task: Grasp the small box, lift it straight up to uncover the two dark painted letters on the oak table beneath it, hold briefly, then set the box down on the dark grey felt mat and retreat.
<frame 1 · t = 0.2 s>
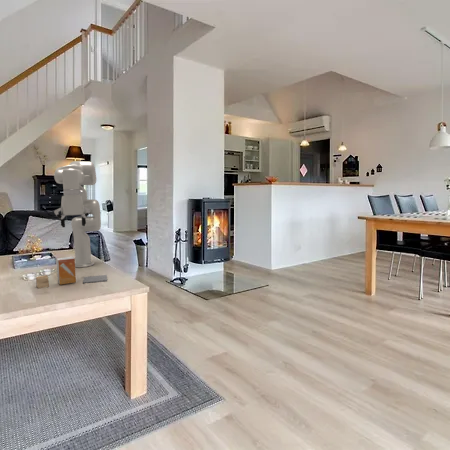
hand: (73, 226, 178), 30 cm above the table, tool pointing down, fingers open, 9 cm apart
code marks: (67, 282, 182), on the table
felt mat: (95, 279, 187), on the table
oak block: (42, 286, 175), on the table
small box: (67, 282, 182), on the table, touching code marks
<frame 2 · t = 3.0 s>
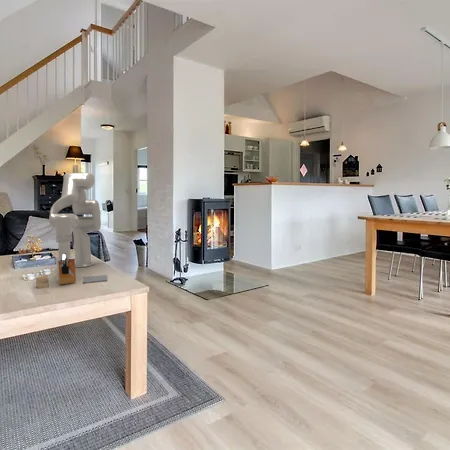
hand: (66, 271, 181), 6 cm above the table, tool pointing down, fingers closed on small box, 7 cm apart
small box: (67, 282, 182), on the table, touching code marks, gripper
everything else where it was.
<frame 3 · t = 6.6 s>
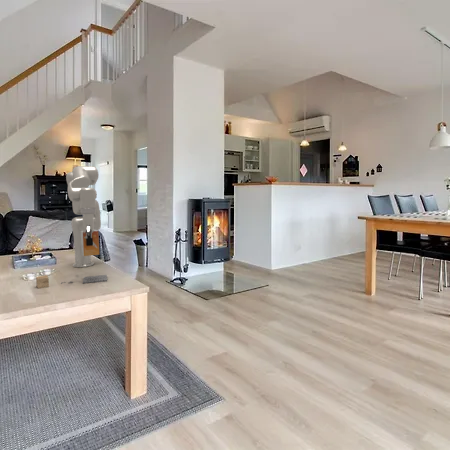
hand: (90, 244, 185), 20 cm above the table, tool pointing down, fingers closed on small box, 7 cm apart
small box: (90, 255, 185), point 14 cm above the table, touching gripper
everything else where it was.
when the fingers open (8 cm above the table, at t = 10.0 s): small box drops 1 cm, resting on felt mat.
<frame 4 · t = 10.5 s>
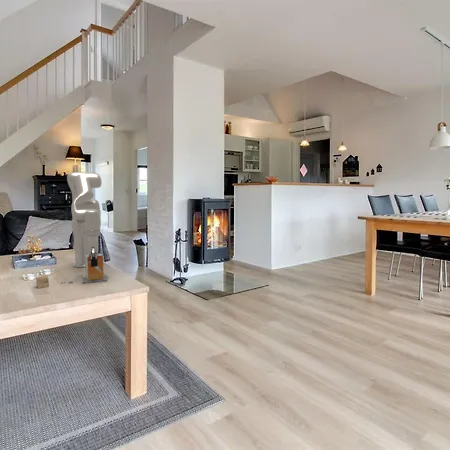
hand: (94, 264, 187), 8 cm above the table, tool pointing down, fingers open, 9 cm apart
small box: (95, 278, 187), resting on felt mat
everything else where it was.
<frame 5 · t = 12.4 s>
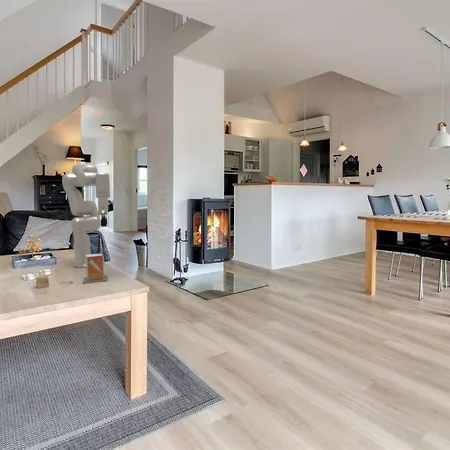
hand: (104, 225, 194), 28 cm above the table, tool pointing down, fingers open, 9 cm apart
nothing on the table moved.
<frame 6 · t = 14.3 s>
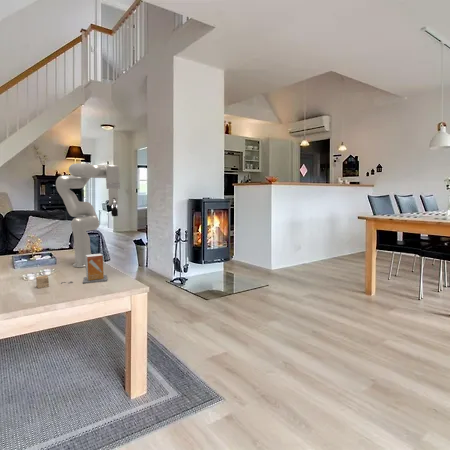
hand: (114, 215, 203), 33 cm above the table, tool pointing down, fingers open, 9 cm apart
nothing on the table moved.
at the end: small box inside the target area on the felt mat (0.2 cm from its centre), point 0.4 cm above the felt mat's base; small box tilted 0°; small box moved 14.0 cm from its start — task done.
